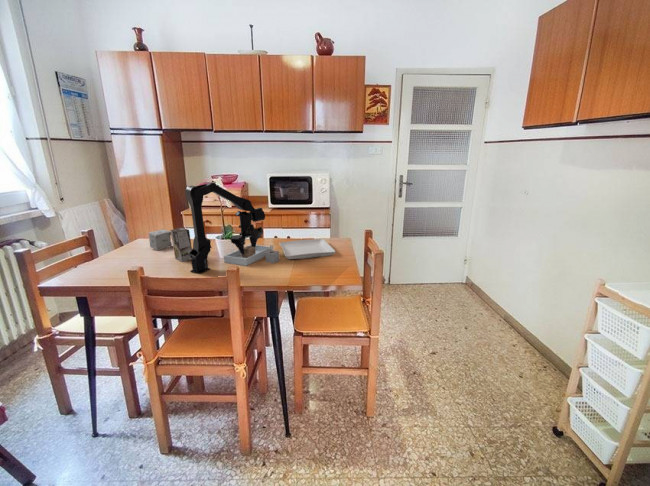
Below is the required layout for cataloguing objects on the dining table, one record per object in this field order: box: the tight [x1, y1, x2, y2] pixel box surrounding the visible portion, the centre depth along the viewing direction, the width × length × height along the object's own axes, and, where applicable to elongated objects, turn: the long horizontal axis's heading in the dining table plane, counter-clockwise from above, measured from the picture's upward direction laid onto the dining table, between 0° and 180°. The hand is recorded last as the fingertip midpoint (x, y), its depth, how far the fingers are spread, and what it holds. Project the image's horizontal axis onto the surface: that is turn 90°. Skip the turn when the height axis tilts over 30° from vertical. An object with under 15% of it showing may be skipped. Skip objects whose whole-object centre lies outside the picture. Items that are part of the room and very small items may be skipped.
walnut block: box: [242, 245, 256, 258], centre depth 158 cm, size 5×5×5 cm
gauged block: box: [264, 244, 280, 264], centre depth 152 cm, size 5×5×8 cm
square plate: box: [278, 238, 337, 260], centre depth 167 cm, size 27×27×4 cm
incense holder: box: [148, 228, 173, 251], centre depth 179 cm, size 10×8×10 cm
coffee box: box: [169, 227, 193, 262], centre depth 158 cm, size 9×6×16 cm
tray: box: [223, 244, 270, 267], centre depth 159 cm, size 22×14×4 cm, turn 156°
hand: (248, 251), depth 158 cm, fingers open, 9 cm apart
